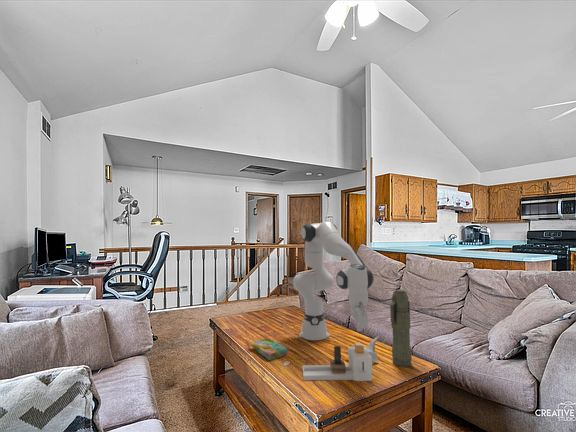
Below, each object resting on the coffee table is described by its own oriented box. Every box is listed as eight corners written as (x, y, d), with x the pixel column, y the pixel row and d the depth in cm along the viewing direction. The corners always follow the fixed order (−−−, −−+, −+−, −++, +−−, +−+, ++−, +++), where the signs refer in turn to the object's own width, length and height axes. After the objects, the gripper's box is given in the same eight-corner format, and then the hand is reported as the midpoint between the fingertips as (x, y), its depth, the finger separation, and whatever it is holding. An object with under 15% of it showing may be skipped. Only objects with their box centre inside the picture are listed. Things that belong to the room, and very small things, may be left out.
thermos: (386, 363, 150) (384, 291, 152) (401, 357, 157) (399, 288, 158) (402, 369, 143) (400, 294, 144) (417, 363, 150) (414, 291, 151)
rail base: (302, 368, 145) (302, 347, 146) (365, 368, 145) (365, 346, 145) (303, 382, 132) (303, 358, 133) (372, 381, 132) (372, 358, 133)
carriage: (330, 365, 143) (329, 344, 143) (343, 365, 143) (342, 344, 143) (332, 372, 136) (331, 350, 136) (345, 372, 136) (345, 350, 136)
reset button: (354, 349, 142) (354, 345, 142) (362, 349, 141) (362, 345, 142) (356, 353, 138) (355, 348, 138) (364, 353, 137) (364, 348, 138)
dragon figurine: (353, 351, 166) (350, 334, 166) (381, 353, 161) (379, 335, 160) (347, 365, 153) (345, 347, 153) (378, 368, 147) (376, 348, 147)
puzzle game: (268, 352, 154) (250, 341, 170) (268, 362, 154) (250, 349, 170) (287, 347, 160) (268, 336, 177) (287, 356, 160) (268, 344, 177)
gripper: (371, 306, 130) (371, 338, 130) (360, 294, 150) (360, 323, 150) (356, 306, 130) (356, 338, 130) (347, 295, 151) (347, 323, 150)
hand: (358, 330), depth 140 cm, fingers closed
